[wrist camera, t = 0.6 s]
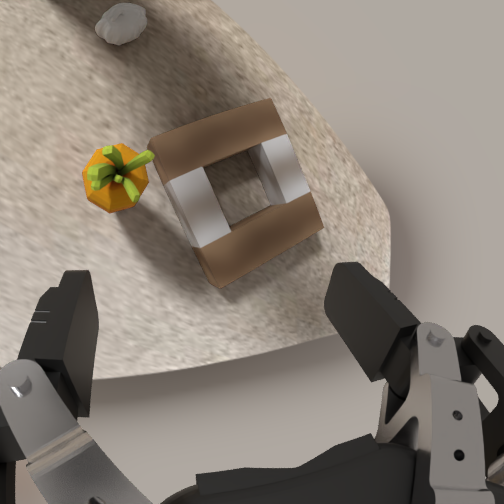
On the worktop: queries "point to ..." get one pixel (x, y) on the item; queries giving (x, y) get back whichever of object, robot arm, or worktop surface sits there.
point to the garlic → (122, 23)
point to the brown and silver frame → (206, 204)
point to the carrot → (116, 177)
